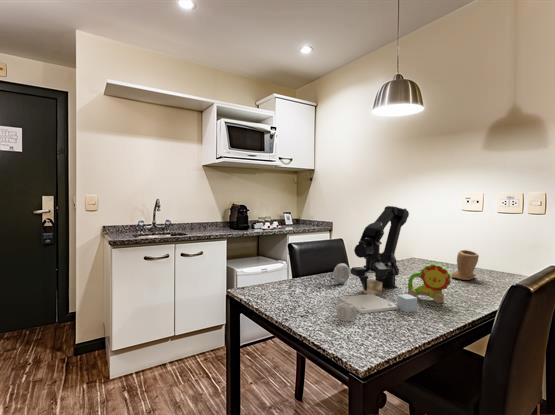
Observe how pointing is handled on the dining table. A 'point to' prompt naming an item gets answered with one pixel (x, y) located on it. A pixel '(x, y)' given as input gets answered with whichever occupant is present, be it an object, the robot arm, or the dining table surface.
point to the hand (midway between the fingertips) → (371, 290)
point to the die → (346, 312)
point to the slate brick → (407, 303)
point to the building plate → (368, 303)
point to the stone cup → (466, 265)
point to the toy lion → (431, 282)
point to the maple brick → (373, 287)
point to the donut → (338, 270)
